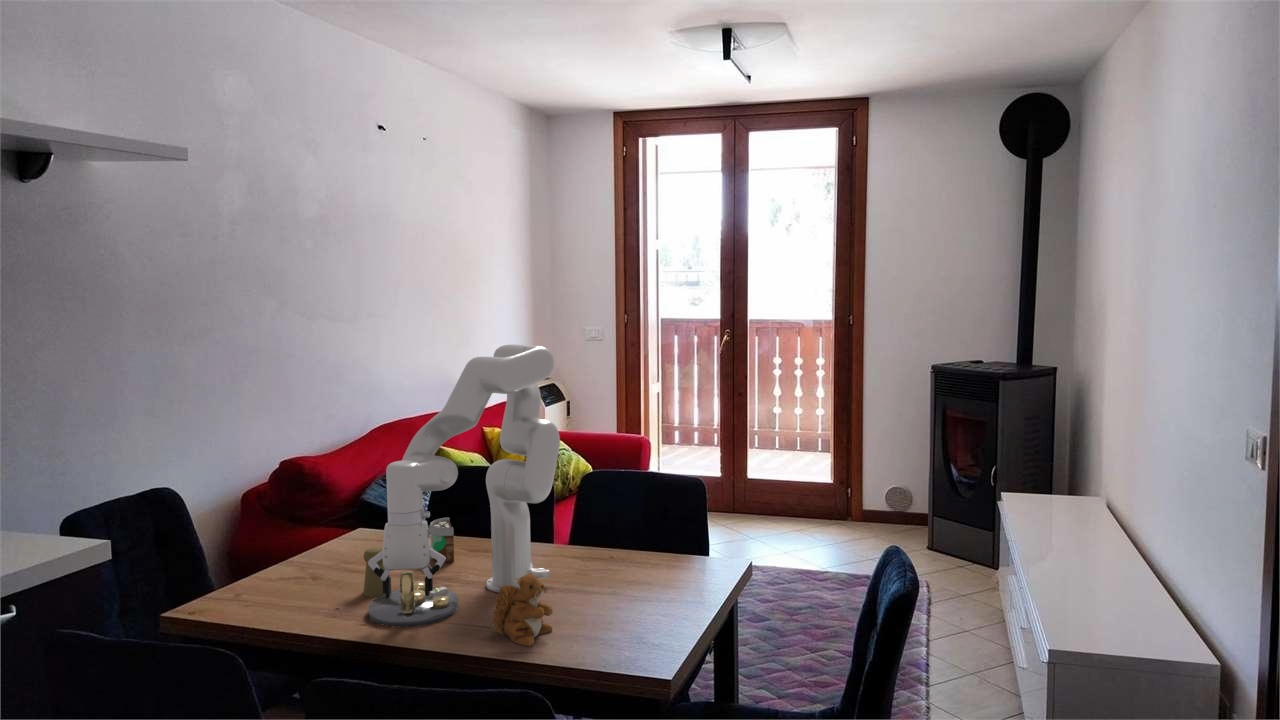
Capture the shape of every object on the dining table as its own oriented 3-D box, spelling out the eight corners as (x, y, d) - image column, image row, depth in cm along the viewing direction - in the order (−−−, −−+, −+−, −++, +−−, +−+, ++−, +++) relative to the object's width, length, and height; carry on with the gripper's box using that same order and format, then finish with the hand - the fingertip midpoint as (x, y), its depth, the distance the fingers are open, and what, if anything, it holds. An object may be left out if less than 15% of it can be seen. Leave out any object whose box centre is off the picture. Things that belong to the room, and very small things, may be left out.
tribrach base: (461, 593, 215) (461, 578, 215) (454, 624, 195) (453, 607, 195) (377, 597, 213) (376, 582, 212) (361, 629, 193) (360, 612, 193)
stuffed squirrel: (532, 648, 182) (531, 586, 180) (479, 636, 188) (477, 576, 187) (560, 632, 190) (559, 572, 189) (507, 620, 197) (506, 563, 196)
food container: (428, 553, 248) (426, 518, 247) (450, 551, 250) (449, 516, 249) (431, 566, 236) (430, 530, 235) (454, 564, 238) (453, 527, 237)
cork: (381, 597, 213) (379, 552, 212) (358, 595, 214) (356, 551, 213) (393, 588, 219) (391, 545, 218) (370, 587, 220) (369, 544, 219)
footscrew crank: (404, 598, 206) (403, 559, 205) (426, 597, 206) (425, 558, 206) (395, 617, 194) (393, 575, 193) (418, 616, 195) (417, 574, 194)
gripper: (447, 511, 199) (449, 587, 200) (368, 514, 197) (371, 591, 198) (444, 520, 191) (446, 599, 193) (361, 523, 189) (364, 603, 191)
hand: (408, 594), depth 196 cm, fingers open, 8 cm apart
